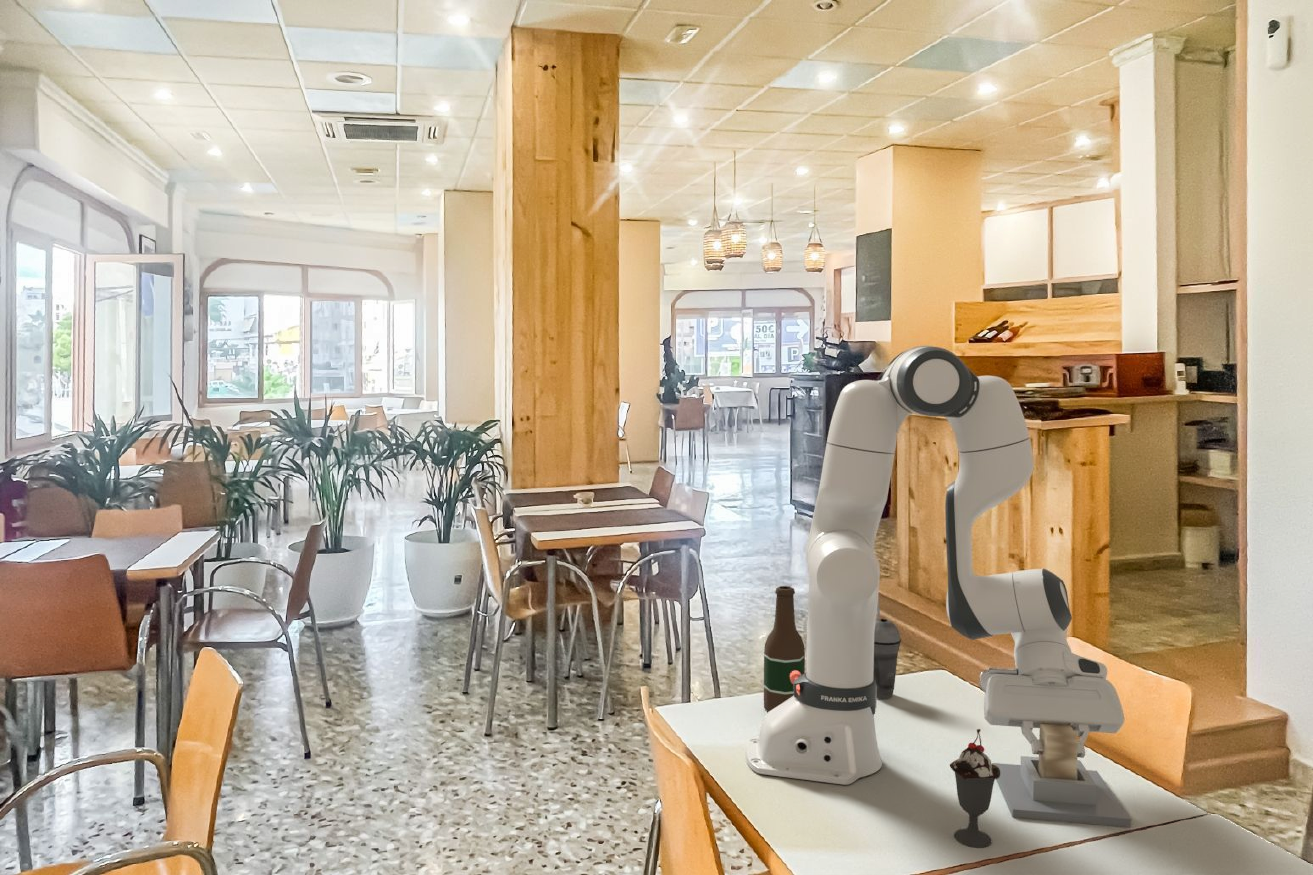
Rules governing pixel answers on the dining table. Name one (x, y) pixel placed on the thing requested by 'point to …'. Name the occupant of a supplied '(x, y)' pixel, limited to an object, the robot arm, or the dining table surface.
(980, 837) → the sundae
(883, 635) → the beverage cup
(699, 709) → the dining table surface
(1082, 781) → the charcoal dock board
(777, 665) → the beer bottle
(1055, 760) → the wooden block
